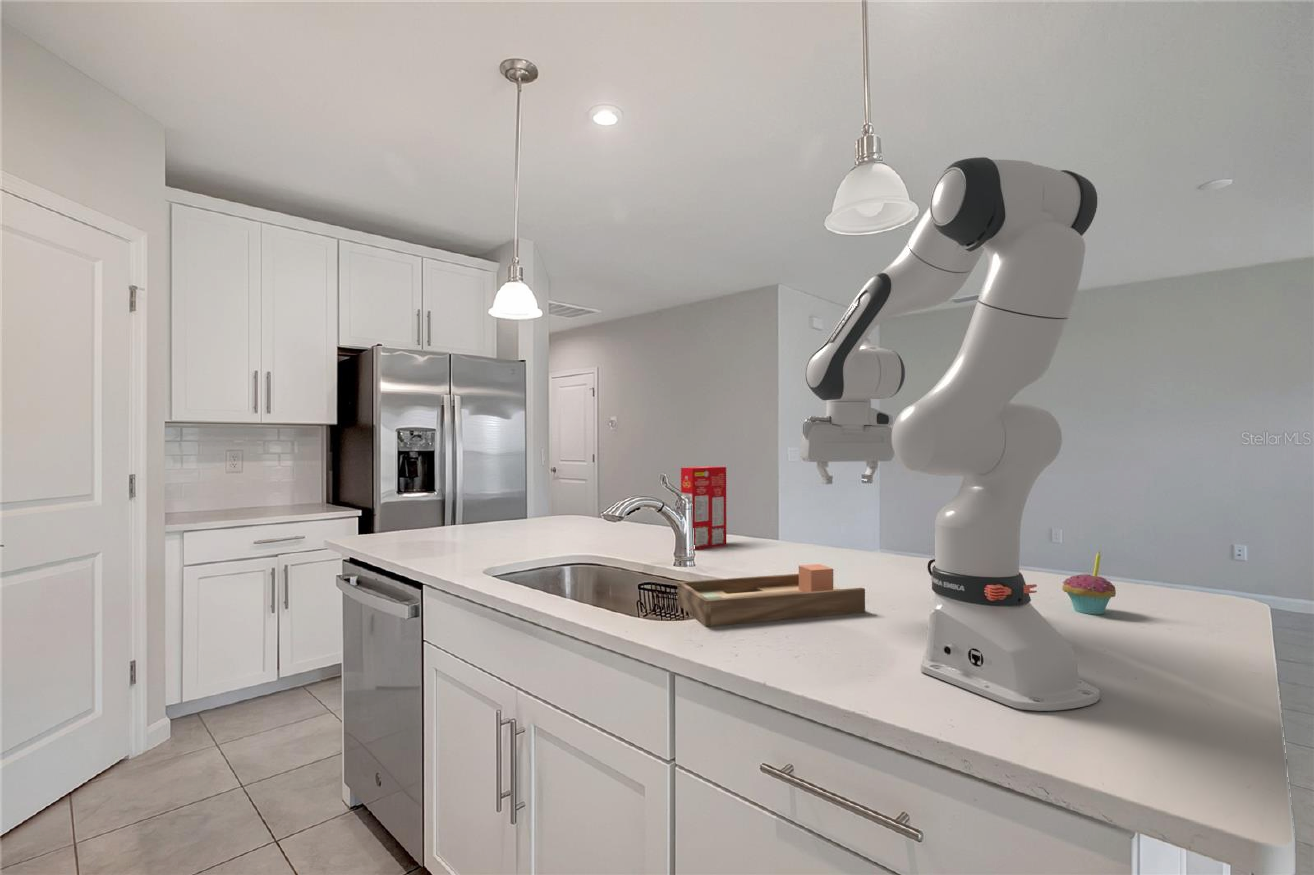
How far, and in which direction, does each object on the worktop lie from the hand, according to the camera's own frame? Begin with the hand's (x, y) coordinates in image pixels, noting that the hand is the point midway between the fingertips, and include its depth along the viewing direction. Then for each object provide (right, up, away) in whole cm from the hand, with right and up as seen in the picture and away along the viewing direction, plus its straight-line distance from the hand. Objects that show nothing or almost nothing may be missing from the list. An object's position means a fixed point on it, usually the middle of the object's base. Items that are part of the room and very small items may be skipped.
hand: (847, 483), depth 128 cm
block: (-7, -22, -1) cm, 23 cm away
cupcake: (+45, -25, -7) cm, 52 cm away
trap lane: (-16, -24, -4) cm, 30 cm away
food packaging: (-24, -25, +68) cm, 77 cm away
